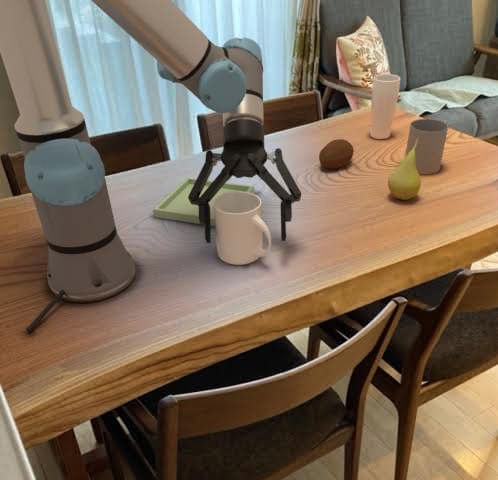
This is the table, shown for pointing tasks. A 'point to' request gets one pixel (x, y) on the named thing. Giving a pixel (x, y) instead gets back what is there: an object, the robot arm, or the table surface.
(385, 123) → the drinking glass
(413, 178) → the fruit
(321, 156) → the potato
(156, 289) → the table surface
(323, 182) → the table surface
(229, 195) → the mug
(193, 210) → the tray
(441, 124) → the cup
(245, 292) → the table surface
